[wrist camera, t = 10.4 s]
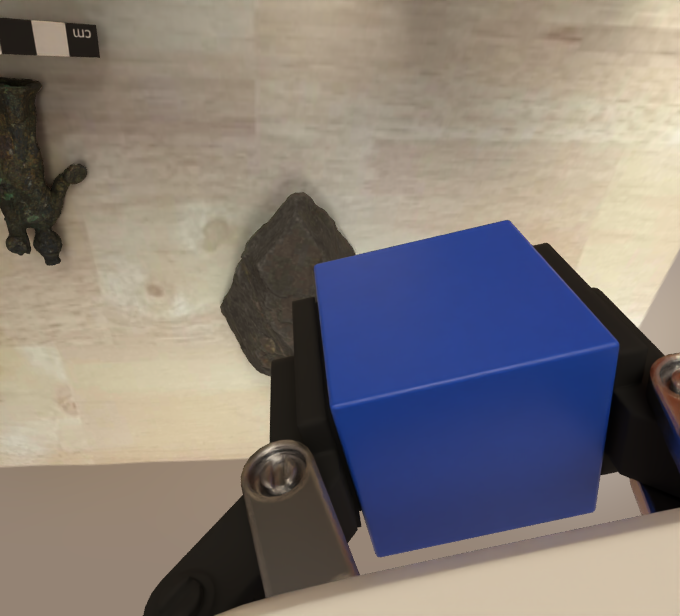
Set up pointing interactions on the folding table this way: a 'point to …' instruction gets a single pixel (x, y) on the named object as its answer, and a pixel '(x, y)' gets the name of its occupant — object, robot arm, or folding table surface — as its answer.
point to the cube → (464, 386)
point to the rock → (279, 278)
